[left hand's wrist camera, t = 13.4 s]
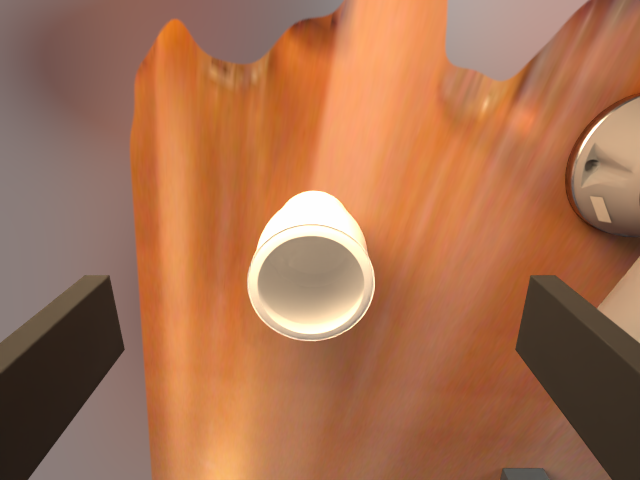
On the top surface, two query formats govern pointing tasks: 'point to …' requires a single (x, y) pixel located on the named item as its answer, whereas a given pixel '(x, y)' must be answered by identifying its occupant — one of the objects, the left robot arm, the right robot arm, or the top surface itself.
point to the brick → (523, 474)
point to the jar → (311, 270)
